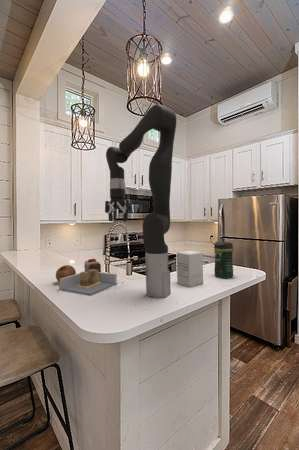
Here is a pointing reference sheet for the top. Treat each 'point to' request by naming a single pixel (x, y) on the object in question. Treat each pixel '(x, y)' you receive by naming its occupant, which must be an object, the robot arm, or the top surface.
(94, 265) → the food item
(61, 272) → the onion
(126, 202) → the robot arm
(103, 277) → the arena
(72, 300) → the top surface
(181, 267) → the supplement box
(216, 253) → the coffee jar
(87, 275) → the walnut brick
